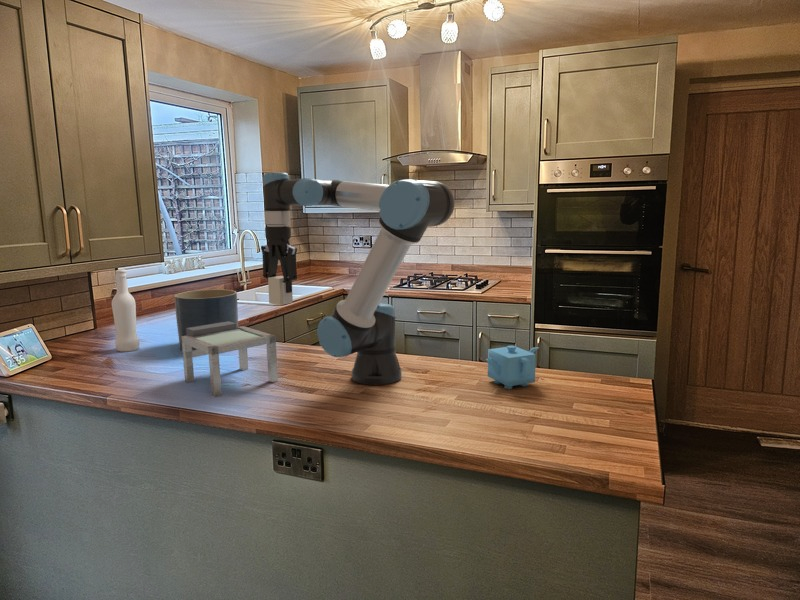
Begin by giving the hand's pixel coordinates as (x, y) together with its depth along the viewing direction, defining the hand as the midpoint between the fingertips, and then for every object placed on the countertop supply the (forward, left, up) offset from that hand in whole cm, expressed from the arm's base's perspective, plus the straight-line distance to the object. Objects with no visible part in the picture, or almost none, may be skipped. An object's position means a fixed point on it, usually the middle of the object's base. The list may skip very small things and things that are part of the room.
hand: (280, 302), depth 170 cm
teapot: (-56, -42, -23) cm, 74 cm away
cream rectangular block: (0, 0, 0) cm, 0 cm away
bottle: (+70, +24, -23) cm, 77 cm away
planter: (+53, 0, -23) cm, 58 cm away
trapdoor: (+9, +15, -13) cm, 21 cm away
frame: (+6, +15, -23) cm, 28 cm away
